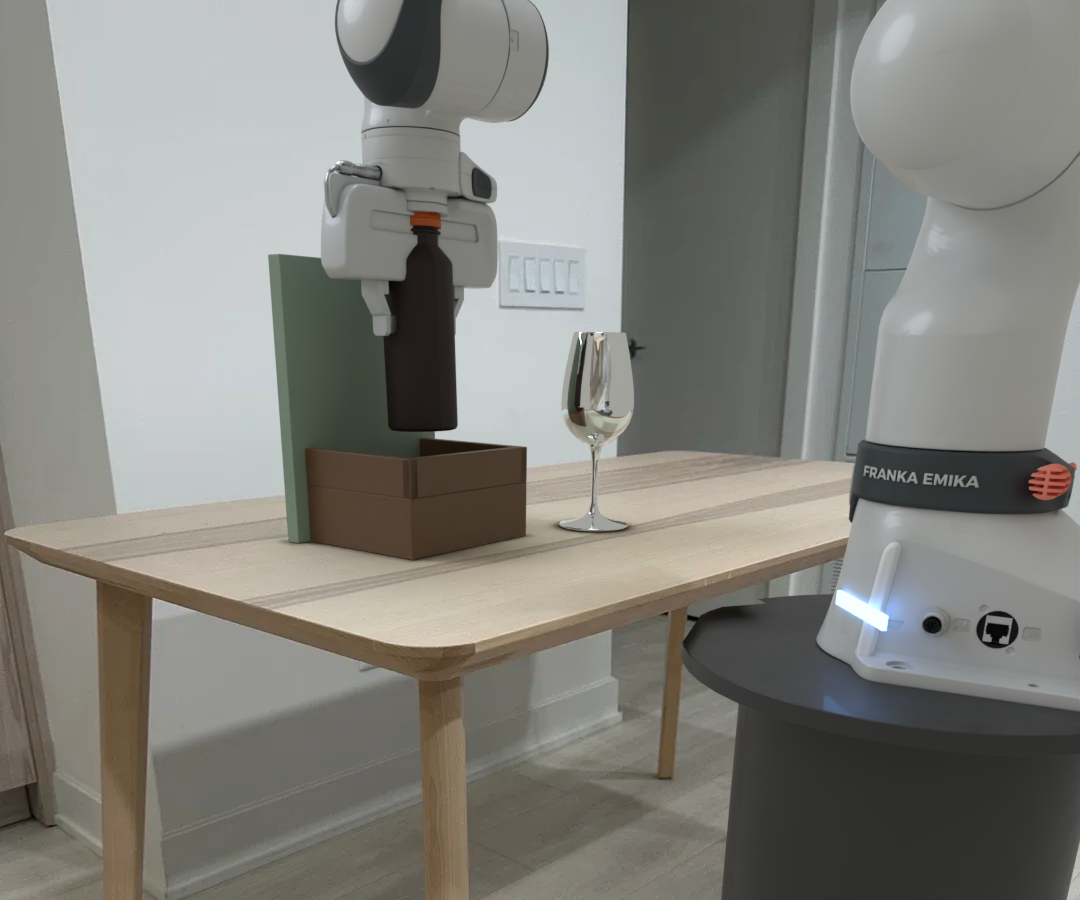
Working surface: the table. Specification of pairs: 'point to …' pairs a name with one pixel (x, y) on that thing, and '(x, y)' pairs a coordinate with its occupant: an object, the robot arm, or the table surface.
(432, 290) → the vinegar
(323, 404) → the door shelf
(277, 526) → the table surface
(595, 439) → the wineglass
